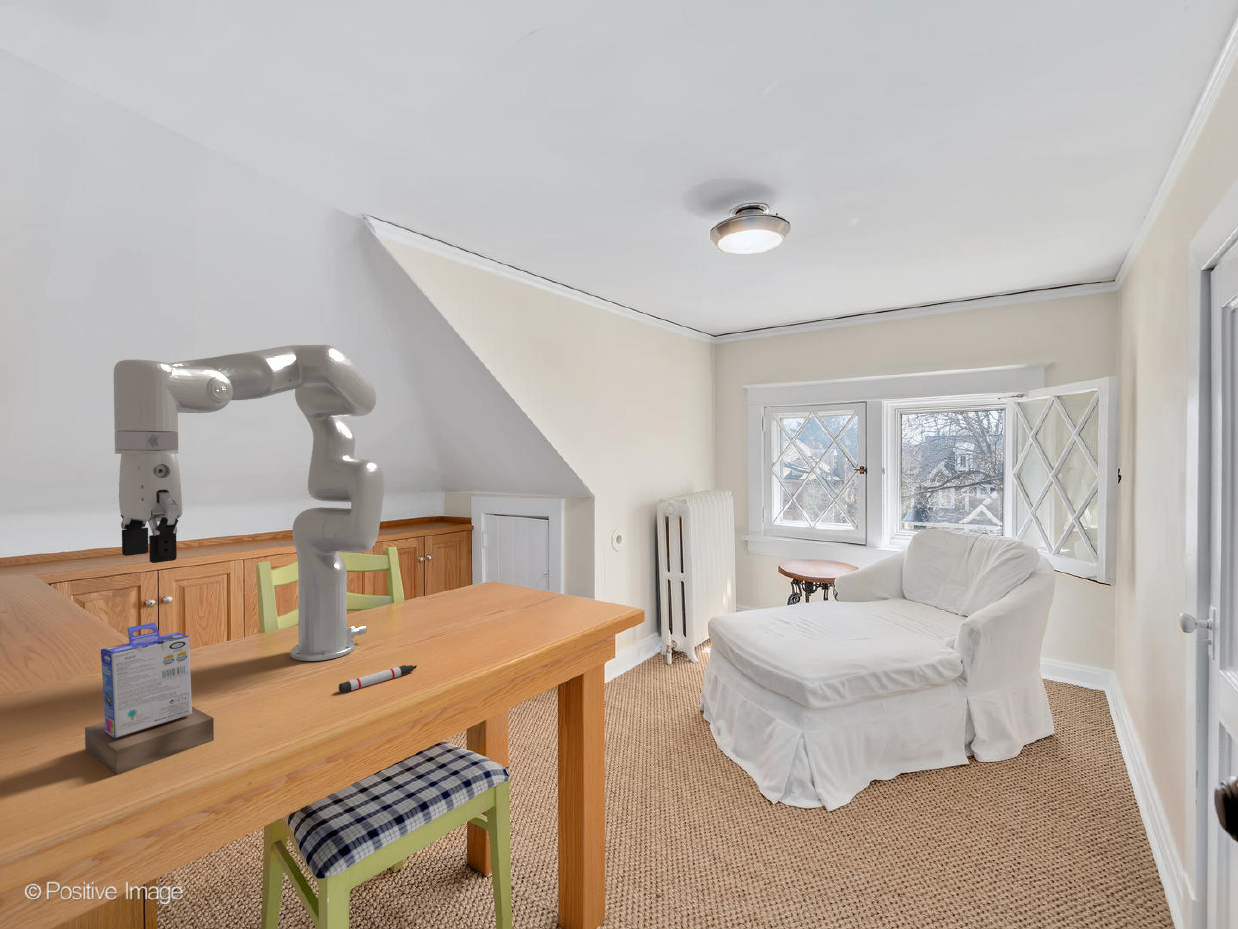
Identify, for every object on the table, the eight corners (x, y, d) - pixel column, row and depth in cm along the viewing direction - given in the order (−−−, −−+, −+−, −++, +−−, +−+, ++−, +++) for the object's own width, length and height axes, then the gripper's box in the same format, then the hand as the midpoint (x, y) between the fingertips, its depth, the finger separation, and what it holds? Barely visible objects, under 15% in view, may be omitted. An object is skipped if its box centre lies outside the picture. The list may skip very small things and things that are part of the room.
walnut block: (179, 723, 100) (178, 699, 100) (213, 743, 93) (213, 718, 93) (85, 754, 90) (84, 727, 90) (117, 779, 83) (116, 750, 83)
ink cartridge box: (179, 707, 97) (176, 616, 97) (194, 714, 94) (191, 620, 94) (101, 731, 89) (98, 631, 89) (114, 740, 85) (111, 636, 85)
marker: (343, 695, 111) (343, 685, 111) (338, 692, 112) (338, 682, 112) (419, 672, 122) (419, 662, 122) (414, 670, 124) (414, 660, 124)
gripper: (202, 444, 89) (204, 560, 90) (152, 443, 99) (153, 548, 99) (141, 444, 83) (143, 569, 84) (93, 443, 92) (95, 555, 93)
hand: (148, 557), depth 91 cm, fingers open, 9 cm apart
